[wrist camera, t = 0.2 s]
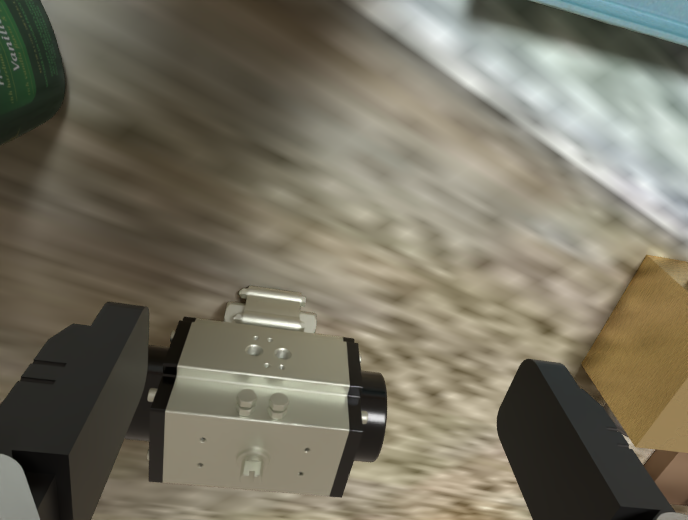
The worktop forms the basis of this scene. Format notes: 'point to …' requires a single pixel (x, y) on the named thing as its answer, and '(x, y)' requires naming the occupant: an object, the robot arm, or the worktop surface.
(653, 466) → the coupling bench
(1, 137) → the coffee jar
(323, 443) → the pneumatic valve
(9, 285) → the worktop surface
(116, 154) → the worktop surface
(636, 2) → the rectangular tray
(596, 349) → the coupling block
